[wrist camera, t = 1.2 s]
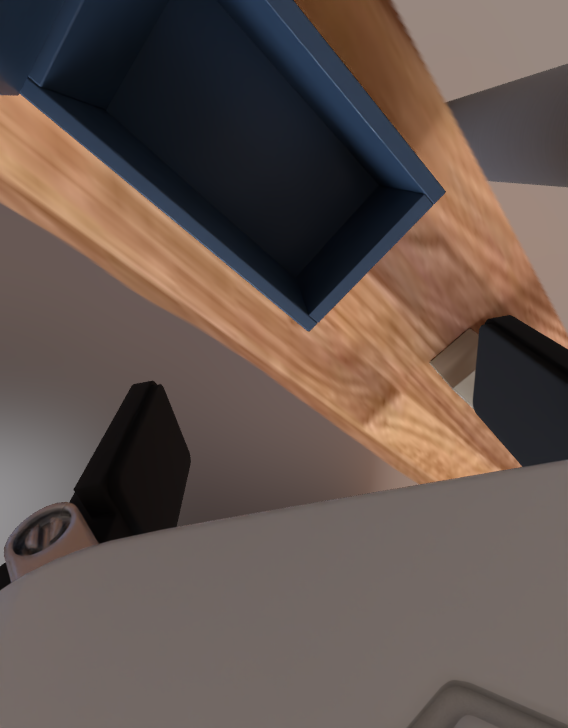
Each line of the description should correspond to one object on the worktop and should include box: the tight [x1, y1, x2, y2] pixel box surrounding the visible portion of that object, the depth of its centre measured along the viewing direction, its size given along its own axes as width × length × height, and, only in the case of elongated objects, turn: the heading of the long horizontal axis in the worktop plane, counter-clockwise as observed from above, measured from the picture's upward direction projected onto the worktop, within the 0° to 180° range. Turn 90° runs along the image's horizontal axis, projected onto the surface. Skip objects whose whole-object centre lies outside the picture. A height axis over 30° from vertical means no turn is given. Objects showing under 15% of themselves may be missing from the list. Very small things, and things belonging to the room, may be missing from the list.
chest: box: [20, 0, 446, 331], centre depth 19 cm, size 15×9×8 cm, turn 48°
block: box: [430, 328, 479, 409], centre depth 28 cm, size 4×4×4 cm
